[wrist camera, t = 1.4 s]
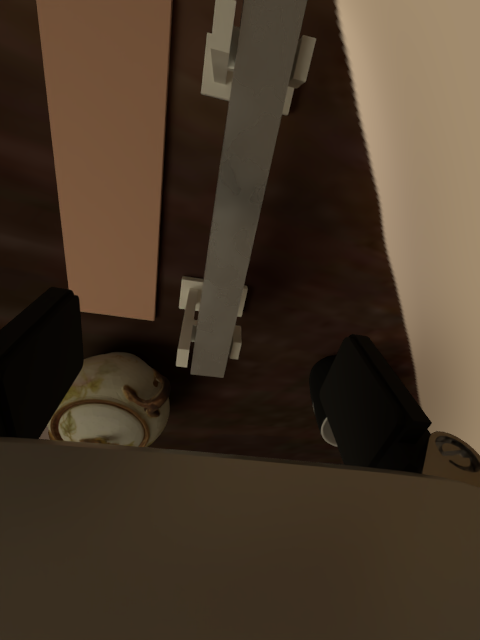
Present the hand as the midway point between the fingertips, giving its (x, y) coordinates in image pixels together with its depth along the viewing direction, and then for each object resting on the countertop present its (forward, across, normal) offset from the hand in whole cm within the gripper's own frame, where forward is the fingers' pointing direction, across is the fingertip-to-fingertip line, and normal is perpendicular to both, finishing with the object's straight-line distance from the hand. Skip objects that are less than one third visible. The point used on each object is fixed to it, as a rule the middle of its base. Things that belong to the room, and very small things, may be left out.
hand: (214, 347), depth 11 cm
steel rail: (+16, -1, 0) cm, 16 cm away
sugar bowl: (+26, +10, +26) cm, 38 cm away
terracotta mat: (+25, +11, 0) cm, 28 cm away
